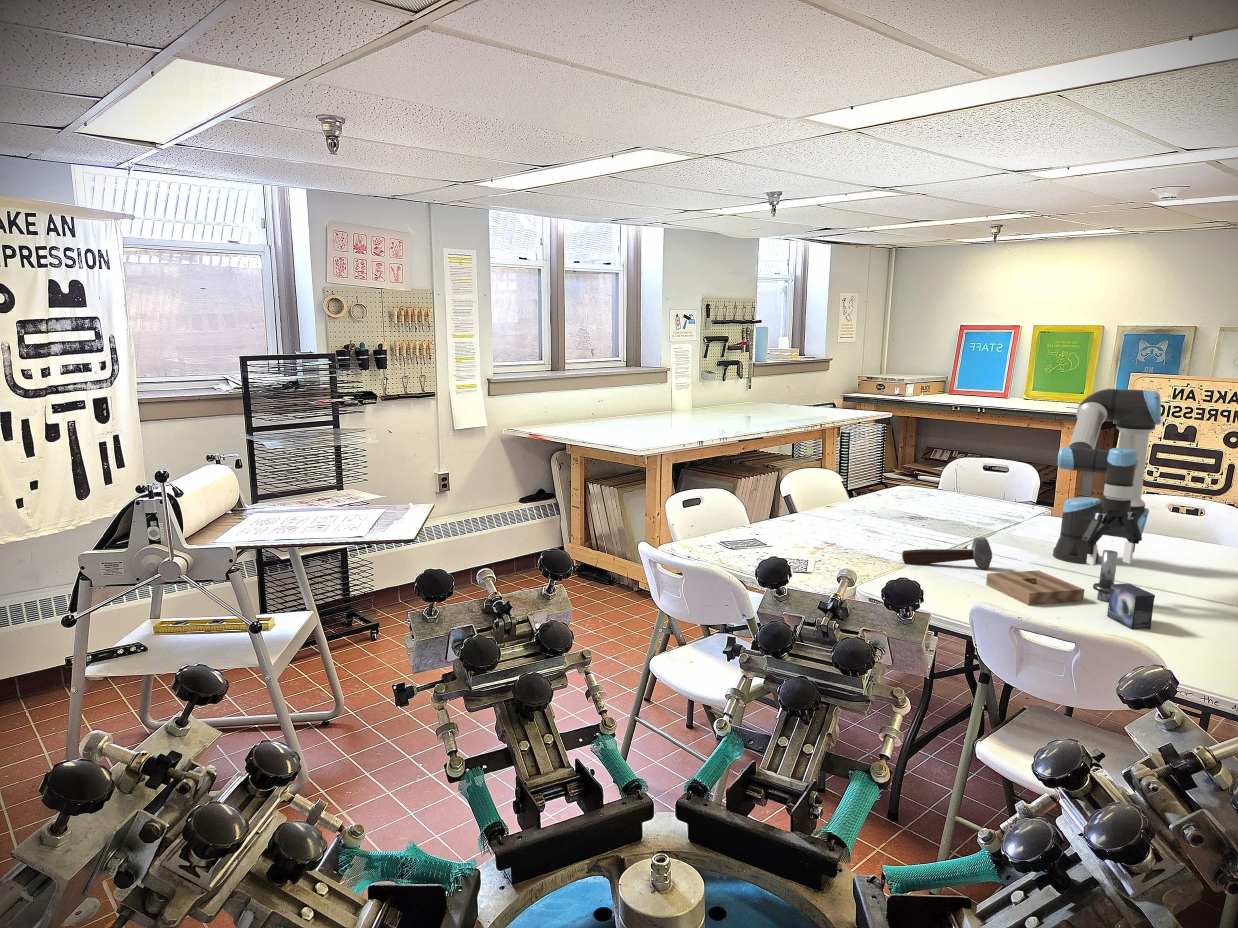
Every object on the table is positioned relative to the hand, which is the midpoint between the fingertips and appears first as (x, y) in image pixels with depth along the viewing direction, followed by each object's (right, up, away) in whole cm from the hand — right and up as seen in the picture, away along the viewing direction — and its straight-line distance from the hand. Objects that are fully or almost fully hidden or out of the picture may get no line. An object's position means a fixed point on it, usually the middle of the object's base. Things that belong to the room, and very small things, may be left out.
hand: (1108, 563), depth 245 cm
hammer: (-36, -6, +37) cm, 52 cm away
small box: (-5, -16, -17) cm, 24 cm away
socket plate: (-20, -11, +8) cm, 24 cm away
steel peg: (0, -12, +2) cm, 12 cm away
